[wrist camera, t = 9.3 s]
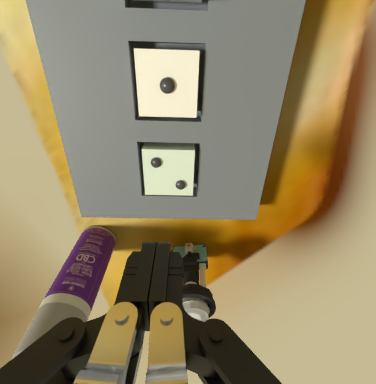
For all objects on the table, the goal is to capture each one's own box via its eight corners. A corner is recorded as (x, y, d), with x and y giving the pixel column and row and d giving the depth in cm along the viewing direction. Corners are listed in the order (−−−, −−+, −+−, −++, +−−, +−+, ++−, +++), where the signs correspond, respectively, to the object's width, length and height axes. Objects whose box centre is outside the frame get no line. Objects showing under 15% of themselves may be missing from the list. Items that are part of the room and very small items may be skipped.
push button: (165, 264, 35) (158, 333, 26) (159, 238, 32) (150, 305, 23) (209, 261, 34) (217, 329, 26) (207, 234, 32) (215, 301, 23)
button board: (7, -171, 14) (-32, -221, 12) (321, -153, 15) (350, -197, 12) (91, 202, 29) (81, 217, 26) (249, 205, 29) (255, 219, 27)
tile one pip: (139, 49, 19) (133, 48, 17) (197, 51, 20) (199, 50, 17) (143, 110, 22) (138, 116, 20) (195, 111, 22) (196, 118, 20)
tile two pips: (145, 141, 24) (141, 149, 21) (194, 142, 24) (194, 151, 21) (148, 183, 26) (144, 195, 24) (192, 184, 26) (192, 196, 24)
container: (110, 223, 30) (55, 346, 18) (120, 248, 33) (79, 374, 20) (76, 227, 31) (-2, 351, 18) (89, 252, 33) (28, 378, 20)
